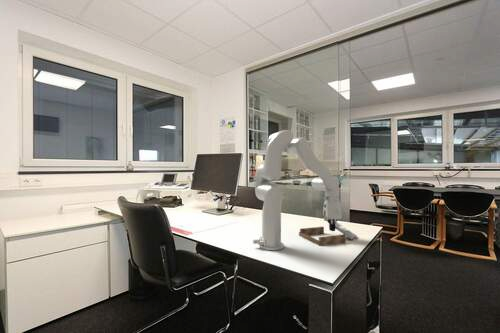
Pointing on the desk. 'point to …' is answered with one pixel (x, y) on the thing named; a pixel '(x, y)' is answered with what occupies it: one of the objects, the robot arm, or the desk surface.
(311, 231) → the walnut open frame
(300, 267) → the desk surface
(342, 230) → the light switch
